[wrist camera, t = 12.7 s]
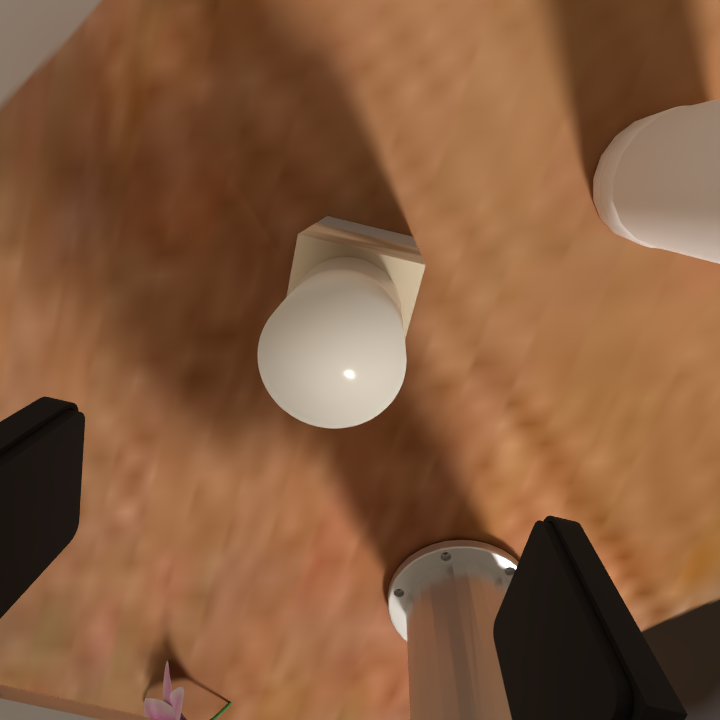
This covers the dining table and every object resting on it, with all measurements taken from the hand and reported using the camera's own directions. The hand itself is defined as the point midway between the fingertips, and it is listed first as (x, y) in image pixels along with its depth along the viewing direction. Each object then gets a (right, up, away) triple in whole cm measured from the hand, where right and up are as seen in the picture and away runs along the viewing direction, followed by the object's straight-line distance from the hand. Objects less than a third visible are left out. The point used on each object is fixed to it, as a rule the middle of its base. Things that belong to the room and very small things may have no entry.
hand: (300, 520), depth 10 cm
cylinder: (+1, +6, +14) cm, 15 cm away
